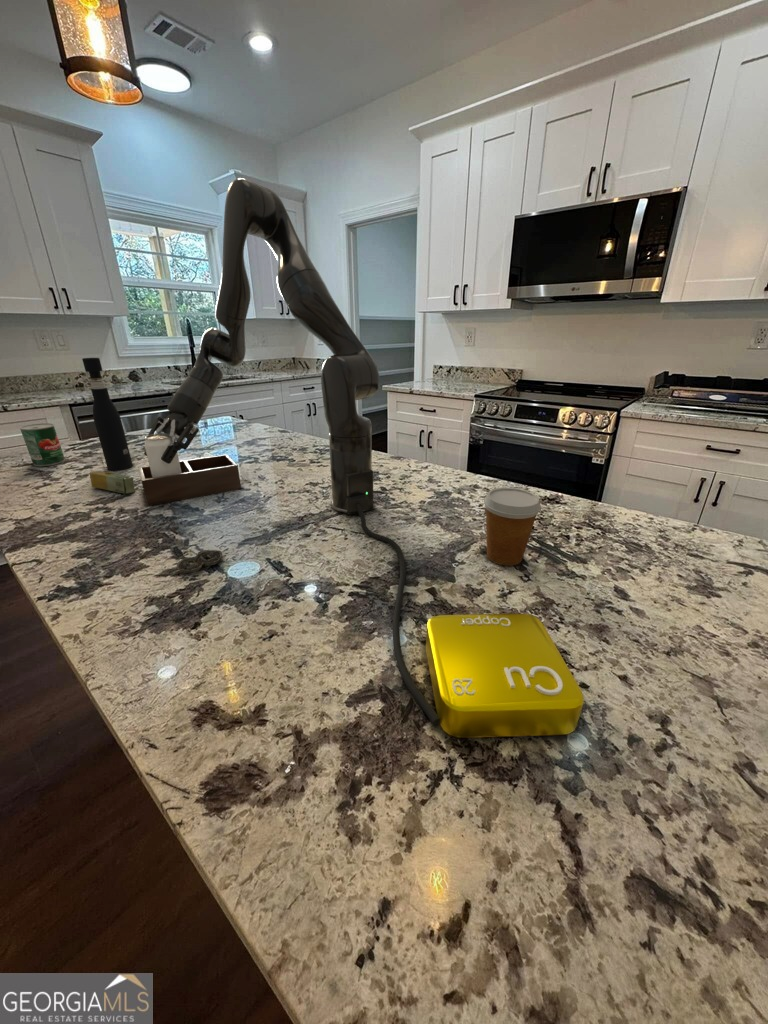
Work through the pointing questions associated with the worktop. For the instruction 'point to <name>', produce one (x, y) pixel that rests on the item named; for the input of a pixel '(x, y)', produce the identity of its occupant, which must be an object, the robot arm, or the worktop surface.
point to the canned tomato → (43, 444)
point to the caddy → (191, 480)
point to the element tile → (499, 677)
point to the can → (160, 455)
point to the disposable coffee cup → (509, 523)
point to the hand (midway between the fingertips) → (156, 458)
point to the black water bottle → (107, 420)
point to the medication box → (112, 482)
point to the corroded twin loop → (199, 561)
